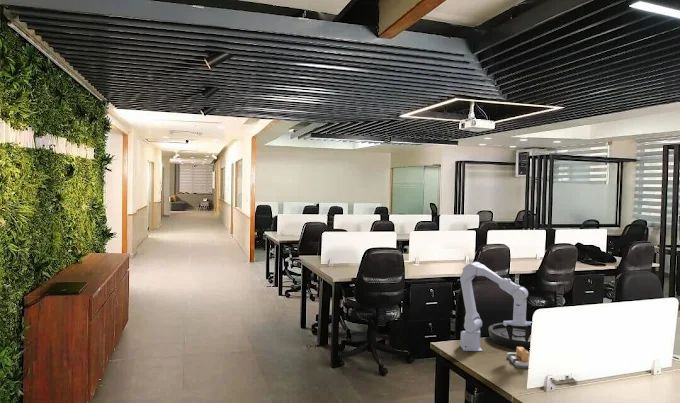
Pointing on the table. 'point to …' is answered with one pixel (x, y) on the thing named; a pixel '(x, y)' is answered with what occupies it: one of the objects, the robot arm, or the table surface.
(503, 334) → the grey bolted disc
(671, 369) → the table surface
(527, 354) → the orange notched block
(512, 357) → the slotted rail
